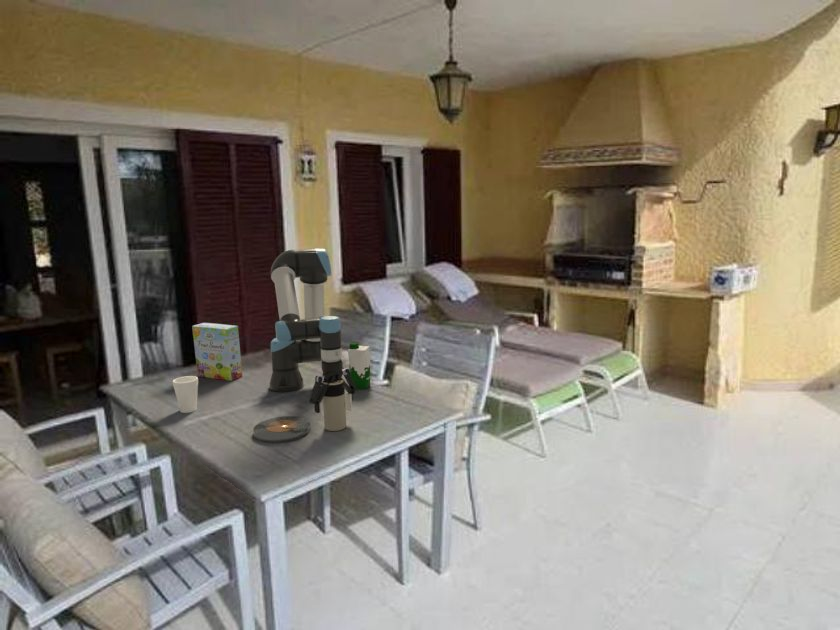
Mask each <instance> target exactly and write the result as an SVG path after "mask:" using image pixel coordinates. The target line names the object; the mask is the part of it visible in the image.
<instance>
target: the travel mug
mask: <svg viewBox="0 0 840 630" xmlns="http://www.w3.org/2000/svg"><path fill="white" fill-rule="evenodd" d="M343 380H344V379H343ZM343 380H338V381H334V382H332V383H330V384H329V386H330V387H329V388H328V389H327V391H326V393H325V395H324V397H323V399H322V409H323V423H324V429H325V430H326V431H329V432H338V431H341V430H344V429H345V428H347V412H346V411H347V410H346V398H345V393H346V390H345V388H344V387H343ZM323 384H326V385H327V384H328V383H326V382H323Z"/></svg>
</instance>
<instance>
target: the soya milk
mask: <svg viewBox="0 0 840 630" xmlns="http://www.w3.org/2000/svg"><path fill="white" fill-rule="evenodd" d="M347 353H348V354H347V355H348V367H349V368H348V369H349V372H350V375H351V377H352V379H353V381H354V383H355V385H356V387H357V390H358V389H359V390H366V389H368V387H369V386H370V385H371V354H370V346H369V345H368V346H367V345H360V344H359V342H349V348H348V349H347Z"/></svg>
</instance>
